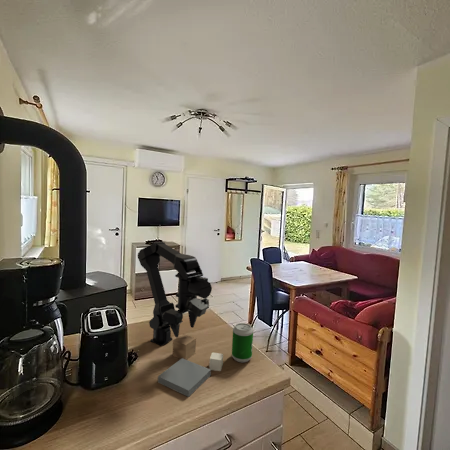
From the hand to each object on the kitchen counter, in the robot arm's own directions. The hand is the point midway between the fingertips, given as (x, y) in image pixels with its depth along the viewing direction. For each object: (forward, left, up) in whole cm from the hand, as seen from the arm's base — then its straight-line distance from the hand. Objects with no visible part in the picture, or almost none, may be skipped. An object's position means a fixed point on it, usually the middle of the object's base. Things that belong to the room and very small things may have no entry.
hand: (184, 332), depth 100 cm
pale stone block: (+14, 0, -9) cm, 17 cm away
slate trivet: (+9, -11, -9) cm, 17 cm away
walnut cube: (0, 0, -9) cm, 9 cm away
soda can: (+19, +10, -9) cm, 23 cm away
